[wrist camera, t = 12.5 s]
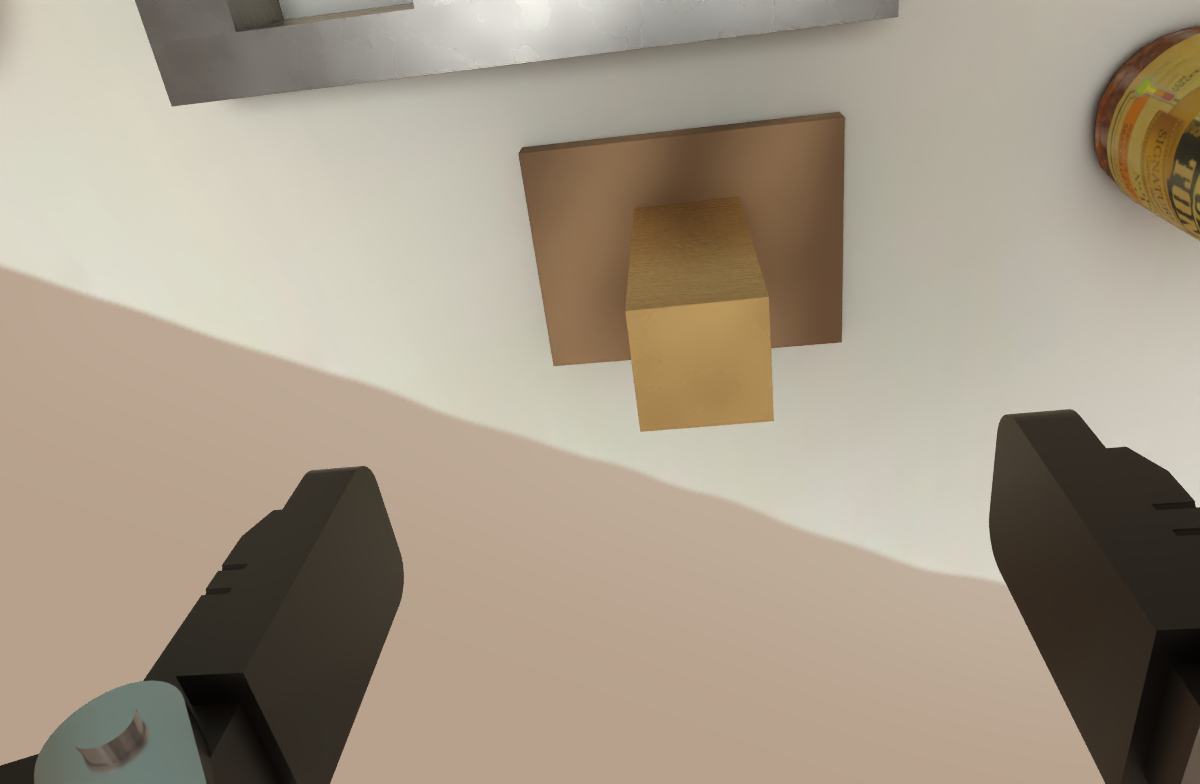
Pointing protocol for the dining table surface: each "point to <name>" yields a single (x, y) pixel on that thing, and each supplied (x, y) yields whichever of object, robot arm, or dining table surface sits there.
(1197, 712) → the robot arm
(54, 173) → the dining table surface
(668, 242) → the brass peg
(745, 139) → the walnut board
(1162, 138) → the sauce bottle
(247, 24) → the grey slotted block
